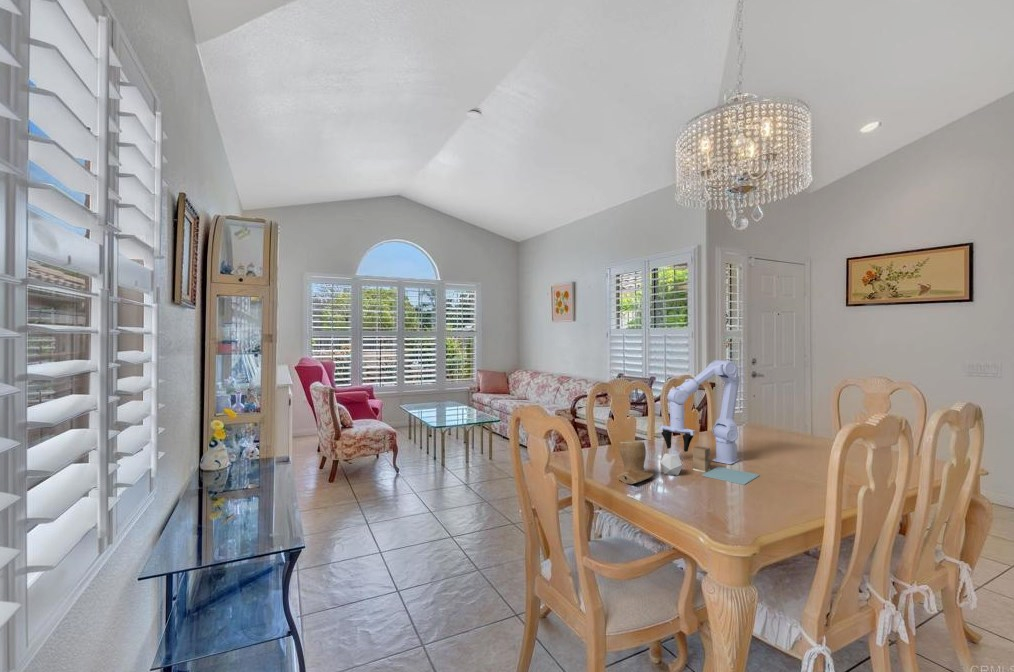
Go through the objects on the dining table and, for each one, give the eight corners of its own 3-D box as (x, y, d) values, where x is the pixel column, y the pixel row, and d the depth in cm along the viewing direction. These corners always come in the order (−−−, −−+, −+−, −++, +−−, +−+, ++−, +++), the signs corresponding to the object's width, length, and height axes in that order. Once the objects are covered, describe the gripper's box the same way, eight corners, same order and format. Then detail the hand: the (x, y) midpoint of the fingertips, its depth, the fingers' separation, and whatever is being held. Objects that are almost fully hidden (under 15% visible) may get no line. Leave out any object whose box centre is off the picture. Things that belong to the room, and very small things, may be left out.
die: (684, 474, 189) (671, 452, 193) (689, 469, 181) (676, 446, 186) (666, 482, 188) (653, 460, 192) (671, 477, 180) (657, 454, 185)
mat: (718, 467, 195) (718, 466, 195) (759, 475, 184) (759, 474, 184) (701, 475, 184) (701, 474, 184) (744, 484, 172) (744, 484, 172)
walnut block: (698, 467, 196) (698, 445, 196) (710, 469, 192) (710, 447, 192) (692, 469, 192) (692, 447, 192) (705, 472, 189) (704, 450, 189)
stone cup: (630, 472, 190) (630, 435, 190) (657, 478, 181) (657, 440, 181) (608, 480, 179) (608, 441, 179) (635, 487, 171) (635, 446, 171)
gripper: (656, 417, 202) (657, 448, 202) (689, 421, 191) (689, 454, 192) (664, 414, 207) (665, 445, 207) (697, 419, 196) (697, 451, 196)
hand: (677, 449), depth 200 cm, fingers open, 7 cm apart
